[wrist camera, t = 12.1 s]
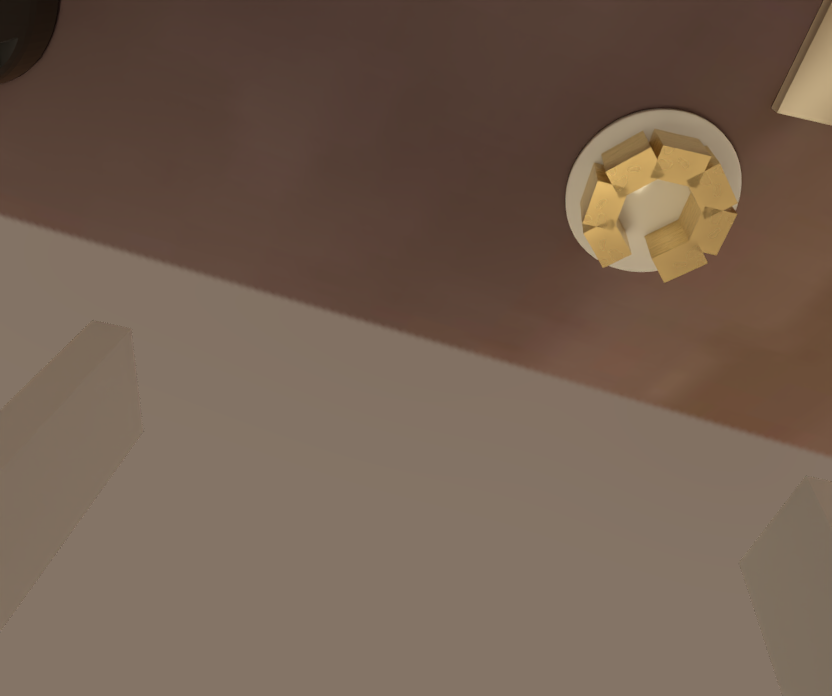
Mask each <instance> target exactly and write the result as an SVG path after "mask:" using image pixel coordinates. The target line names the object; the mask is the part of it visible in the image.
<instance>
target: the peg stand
mask: <svg viewBox="0 0 832 696" xmlns="http://www.w3.org/2000/svg"><path fill="white" fill-rule="evenodd" d="M771 108H772V109H773V110H774V111H775V112H777V113H780V114H784V115H788V116H793V117H797V118H802V119H806V120H810V121H815V122H819V123H823V124H828V125H832V0H823V2H822V4H821V6H820V8H819V10H818V13H817V15H816V17H815V19H814V21H813V23H812V25H811V27H810V29H809V31H808V33H807V35H806V37H805V39H804V41H803V43H802V45H801V47H800V49H799V52H798V54H797V56H796V58H795V60H794V62H793V64H792V66H791V68H790V70H789V72H788V74H787V76H786V78H785V80H784V82H783V84H782V86H781V88H780V91H779V93H778V95H777V97H776V99H775V101H774V103H773V105H772V107H771Z"/></svg>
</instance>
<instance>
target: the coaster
mask: <svg viewBox="0 0 832 696" xmlns="http://www.w3.org/2000/svg"><path fill="white" fill-rule="evenodd" d="M654 129H658V130H663V131H667V132H671V133H676V134H680V135H684V136H689V137H693V138H697V139H699V140H700V141H701V143H702V144H703V146H706V145H707V146H708V148H709V149H710V150H711V152H712V153H713V154H714V156H715V157H716V158H717V160H718V161H719V163H720V164H721V167H722V169H723V171H724V173H725V175H726V178H727V180H728V182H729V184H730V187H731V189H732V191H733V193H734V196H735V198H736V200H737V202H738V201H739V198H740V193H741V185H742V182H741V169H740V163H739V160H738V157H737V154H736V152H735V150H734V148H733V146H732V145H731V143H730V142H729V140H728V139H727V138H726V137H725V135H724V134H723V133H722V132H721V131H720V130H719V129H718V128H717V127H716V126H715V125H714V124H712V123H711V122H709V121H708V120H706V119H705V118H703V117H701V116H699V115H697V114H694V113H691V112H688V111H685V110H680V109H673V108H655V109H647V110H642V111H638V112H634V113H632V114H629V115H626V116H624V117H622V118H620V119H618V120H616V121H614V122H612V123H611V124H609V125H608V126H606V127H605V128H603V129H602V130H601V131H599V132H598V133H597V134H596V135H595V136H594V137H593V138H592V139H591V140H590V141H589V142H588V143H587V144H586V145H585V146H584V148H583V149H582V151H581V152H580V153H579V155H578V157H577V158H576V160H575V162H574V164H573V166H572V169H571V171H570V174H569V177H568V181H567V185H566V193H565V204H566V213H567V219H568V222H569V225H570V228H571V230H572V232H573V234H574V236H575V238H576V239H577V241H578V242H579V244H580V245H581V246H582V247H583V248H584V249H585V250H586V251H587V252H588V253H589V254H590V255H591V256H593V257H594V258H596V259H597V260H598V258H597V257H596V255H595V253H594V251H593V250H592V248H591V246H590V244H589V243H588V241H587V239H586V237H585V236H584V234H583V227H582V219H581V208H580V201H581V198H582V195H583V192H584V189H585V186H586V184H587V181H588V178H589V175H590V172H591V169H592V166H593V163H598V164H603V160H602V156H601V154H602V153H604V152H606V151H607V150H609V149H611V148H613V147H614V146H616V145H618V144H620V143H622V142H623V141H625V140H627V139H629V138H630V137H632V136H634V135H636V134H637V133H639V132H641V131H643V132H644V134H645V136H646V138H647V140H648V142H649V141H650V138H651V136H652V133H653V131H654ZM603 165H604V164H603ZM690 193H691V192H690V190H689V188H688V186H684V185H680V184H676V183H671V182H667V181H663V180H659V179H657V180H655V181H653V182H651V183H649V184H648V185H646V186H644V187H642V188H640V189H638V190H636V191H634V192H632V193H630V194H628V195H627V196H626V199H625V201H624V204H623V206H622V209H621V211H620V214H619V216H618V218H619V220H620V222H621V224H622V226H623V227H624V229H625V231H626V234H627V238H628V242H629V246H630V249H631V253H632V254H631V255H629V256H627V257H625V258H623V259H621V260H619V261H617V262H615V263H613V264H611V265H609V266H611V267H614V268H617V269H620V270H626V271H633V272H651V271H658V270H657V268H656V266H655V264H654V262H653V261H652V258H651V255H650V252H649V249H648V246H647V243H646V240H645V237H644V236H646V235H648V234H650V233H652V232H654V231H656V230H658V229H660V228H662V227H664V226H666V225H668V224H670V223H672V222H674V221H676V220H678V219H679V217H680V215H681V213H682V210H683V208H684V206H685V204H686V202H687V199H688V197H689V195H690ZM737 205H738V203H737V204H735V205H733V206H732V207H733V208H734V210H736V208H737Z"/></svg>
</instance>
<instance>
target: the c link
mask: <svg viewBox="0 0 832 696" xmlns="http://www.w3.org/2000/svg"><path fill="white" fill-rule="evenodd" d="M601 156H602V160H603V164H604V165H603V164H598V163H593V166H592V169H591V172H590V175H589V178H588V181H587V184H586V186H585V189H584V192H583V195H582V198H581V201H580V208H581V219H582V227H583V234H584V236H585V237H586V239H587V241H588V243H589V244H590V246H591V248H592V250H593V251H594V253H595V255H596V257H597V258H598V260H599V262H600V264H601V265H602V267H603V268H604V267H606V266H609V265H611V264H613V263H615V262H617V261H619V260H621V259H623V258H625V257H627V256H629V255H631V254H632V253H631V249H630V246H629V242H628V238H627V234H626V231H625V229H624V227H623V226H622V224H621V222H620V220H619V218H618V216H619V214H620V211H621V209H622V206H623V204H624V201H625V199H626V196H627V195H628V194H630V193H632V192H634V191H636V190H638V189H640V188H642V187H644V186H646V185H648V184H649V183H651V182H653V181H655V180H657V179H659V180H663V181H667V182H671V183H676V184H680V185H684V186H688V188H689V190H690V192H691V193H690V195H689V197H688V199H687V202H686V204H685V206H684V208H683V210H682V213H681V215H680V217H679V219H678V220H676V221H674V222H672V223H670V224H668V225H666V226H664V227H662V228H660V229H658V230H656V231H654V232H652V233H650V234H648V235H646V236H644V237H645V240H646V243H647V246H648V249H649V252H650V255H651V258H652V261H653V262H654V264H655V266H656V268H657V270H658V272H659V274H660V276H661V277H662V279H663V281H664V283H665V282H667V281H670V280H672V279H674V278H676V277H679V276H681V275H683V274H685V273H687V272H690V271H692V270H694V269H696V268H699V267H701V266H703V265H705V264H707V263H708V262H707V260H706V258H705V256H704V254H703V252H704V253H708V254H712V255H717V253H718V251H719V249H720V247H721V245H722V243H723V241H724V239H725V237H726V236H727V234H728V232H729V230H730V228H731V226H732V224H733V222H734V220H735V218H736V216H737V213H736V211H735V210H734V208H733V207H732V206H733V205H735V204H737V203H738V202H737V200H736V198H735V196H734V193H733V191H732V189H731V187H730V184H729V182H728V180H727V178H726V175H725V173H724V171H723V169H722V167H721V164H720V163H719V161H718V160H717V158H716V157H715V156H714V154H713V153H712V152H711V150H710V149H709V148H708V146H707V145H706V146H703V144H702V143H701V141H700V140H699V139H697V138H693V137H689V136H684V135H680V134H676V133H671V132H667V131H663V130H658V129H654V131H653V133H652V136H651V138H650V141H649V142H648V140H647V138H646V136H645V134H644V132H643V131H641V132H639V133H637V134H636V135H634V136H632V137H630V138H629V139H627V140H625V141H623V142H622V143H620V144H618V145H616V146H614V147H613V148H611V149H609V150H607V151H606V152H604V153H602V154H601Z"/></svg>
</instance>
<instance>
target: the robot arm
mask: <svg viewBox="0 0 832 696" xmlns="http://www.w3.org/2000/svg"><path fill="white" fill-rule="evenodd" d="M58 1H59V0H0V84H2V83H5V82H8V81H10V80H13V79H15V78H17V77H18V76H20V75H22V74H23V73H25V72H26V71H27V70H28V69H29V68H31V67H32V66H33V65H34V64H35V62H36V61H37V60H38V59H39V58H40V56H41V55H42V53H43V52H44V50H45V48H46V46H47V44H48V42H49V40H50V38H51V35H52V32H53V29H54V25H55V22H56V16H57V10H58ZM143 432H144V430H143V422H142V413H141V405H140V397H139V388H138V381H137V372H136V363H135V355H134V347H133V338H132V330H131V328H127V327H122V326H118V325H113V324H108V323H104V322H99V321H94V320H92V321H91V322H90V323H89V324H88V325H87V326H86V327H85V328H84V329H83V330H82V331H81V332H80V333H79V334H78V335H77V336H76V337H75V338H74V339H73V340H72V341H71V342H70V343H69V344H67V345H66V346H65V347H64V348H63V349H62V350H61V351H60V352H59V353H58V354H57V355H56V356H55V357H54V358H53V359H52V360H51V361H50V362H49V363H48V364H47V365H46V366H45V367H44V368H43V369H42V370H41V371H40V372H39V373H38V374H37V375H36V376H35V377H33V378H32V379H31V380H30V381H29V382H28V383H27V384H26V385H25V386H24V387H23V388H22V389H21V390H20V391H19V392H18V393H17V394H16V395H15V396H14V397H13V398H12V399H11V400H10V401H9V402H8V403H7V404H6V405H5V406H4V407H3V408H2V409H1V410H0V632H1V630H2V629H3V627H4V626H5V625H6V623H7V622H8V621H9V619H10V618H11V616H12V615H13V613H14V612H15V611H16V609H17V608H18V607H19V605H20V604H21V602H22V601H23V599H24V598H25V597H26V595H27V594H28V592H29V591H30V590H31V588H32V587H33V586H34V584H35V583H36V581H37V580H38V579H39V577H40V576H41V574H42V573H43V572H44V570H45V569H46V567H47V566H48V565H49V563H50V562H51V560H52V559H53V557H54V556H55V555H56V553H57V552H58V551H59V549H60V548H61V546H62V545H63V544H64V542H65V541H66V540H67V538H68V537H69V535H70V534H71V533H72V531H73V530H74V528H75V527H76V526H77V524H78V523H79V521H80V520H81V519H82V517H83V516H84V514H85V513H86V512H87V510H88V509H89V507H90V506H91V505H92V503H93V502H94V500H95V499H96V498H97V496H98V495H99V493H100V492H101V491H102V489H103V488H104V486H105V485H106V484H107V482H108V481H109V479H110V478H111V477H112V475H113V474H114V472H115V471H116V470H117V468H118V467H119V465H120V464H121V463H122V461H123V460H124V458H125V457H126V456H127V454H128V453H129V452H130V450H131V449H132V447H133V446H134V445H135V443H136V441H137V440H138V439H139V437H140V436H141V435H142V433H143ZM739 565H740V569H741V571H742V575H743V578H744V581H745V584H746V587H747V590H748V593H749V596H750V599H751V602H752V605H753V608H754V611H755V614H756V617H757V620H758V623H759V626H760V629H761V633H762V636H763V639H764V642H765V645H766V648H767V651H768V654H769V657H770V660H771V663H772V666H773V669H774V672H775V675H776V678H777V682H778V685H779V688H780V691H781V694H782V696H832V481H828V480H824V479H819V478H815V477H810V476H805V477H804V479H803V480H802V481H801V483H800V484H799V485H798V486H797V488H796V489H795V490H794V492H793V493H792V494H791V496H790V497H789V498H788V499H787V501H786V502H785V503H784V505H783V506H782V507H781V508H780V510H779V511H778V512H777V514H776V515H775V516H774V518H773V519H772V520H771V521H770V523H769V524H768V525H767V527H766V528H765V529H764V531H763V532H762V533H761V534H760V536H759V537H758V538H757V540H756V541H755V542H754V544H753V545H752V546H751V547H750V549H749V550H748V551H747V553H746V554H745V555H744V557H743V558H742V559H741V560H740V562H739Z"/></svg>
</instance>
